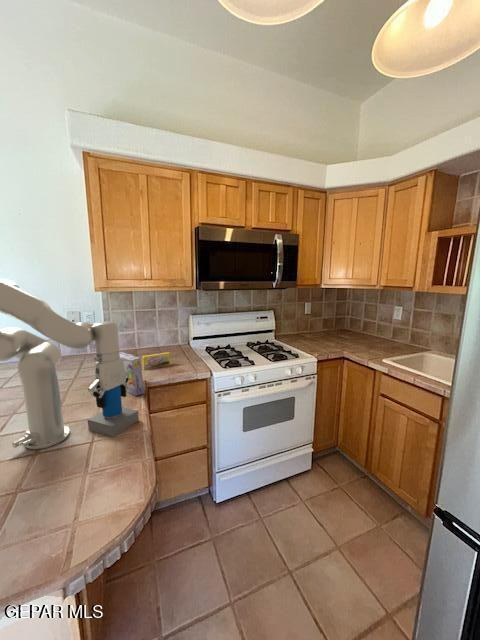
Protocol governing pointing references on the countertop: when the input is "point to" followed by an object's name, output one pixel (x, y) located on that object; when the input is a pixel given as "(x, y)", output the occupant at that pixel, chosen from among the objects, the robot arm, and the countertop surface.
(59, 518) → the countertop surface
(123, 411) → the block
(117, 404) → the beverage can
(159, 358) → the candy box
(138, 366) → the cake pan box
